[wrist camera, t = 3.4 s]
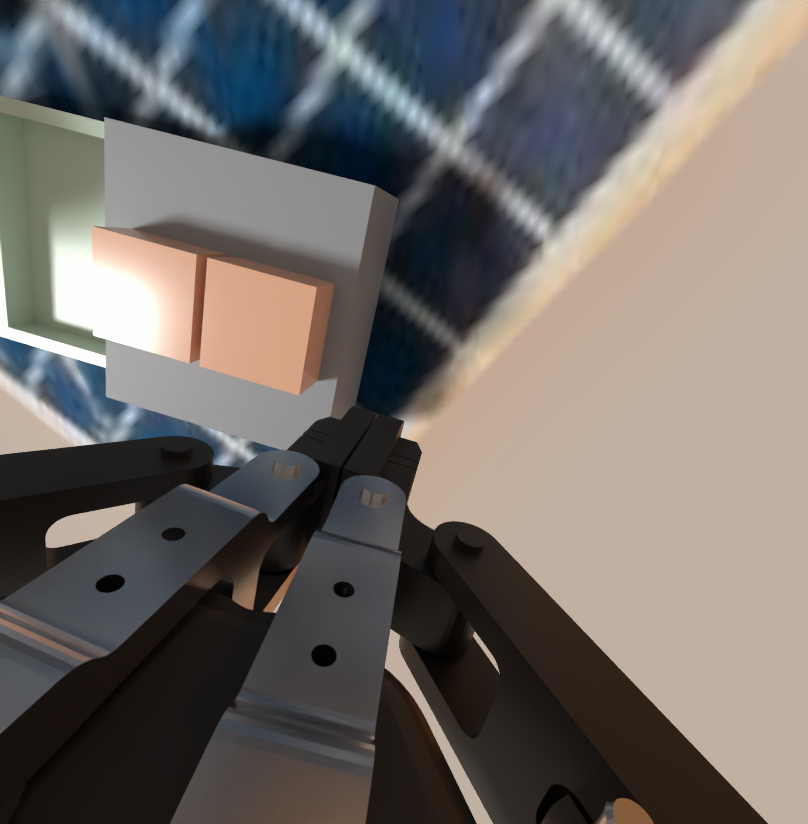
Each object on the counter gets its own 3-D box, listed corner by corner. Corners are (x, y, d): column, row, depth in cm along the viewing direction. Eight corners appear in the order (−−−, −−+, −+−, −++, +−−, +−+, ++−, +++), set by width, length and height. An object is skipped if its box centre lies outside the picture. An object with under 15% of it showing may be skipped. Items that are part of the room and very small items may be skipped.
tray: (18, 102, 27) (-26, 89, 25) (172, 141, 26) (142, 131, 24) (33, 329, 32) (-2, 335, 30) (162, 367, 32) (136, 376, 29)
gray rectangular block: (184, 145, 26) (104, 117, 21) (399, 199, 25) (375, 185, 20) (173, 370, 31) (105, 396, 26) (351, 423, 30) (321, 461, 25)
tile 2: (236, 256, 22) (207, 257, 20) (335, 283, 22) (316, 287, 19) (227, 354, 24) (199, 366, 21) (317, 381, 23) (299, 395, 21)
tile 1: (132, 228, 22) (91, 225, 20) (227, 254, 22) (196, 254, 20) (131, 327, 24) (93, 335, 22) (218, 352, 24) (189, 363, 21)
